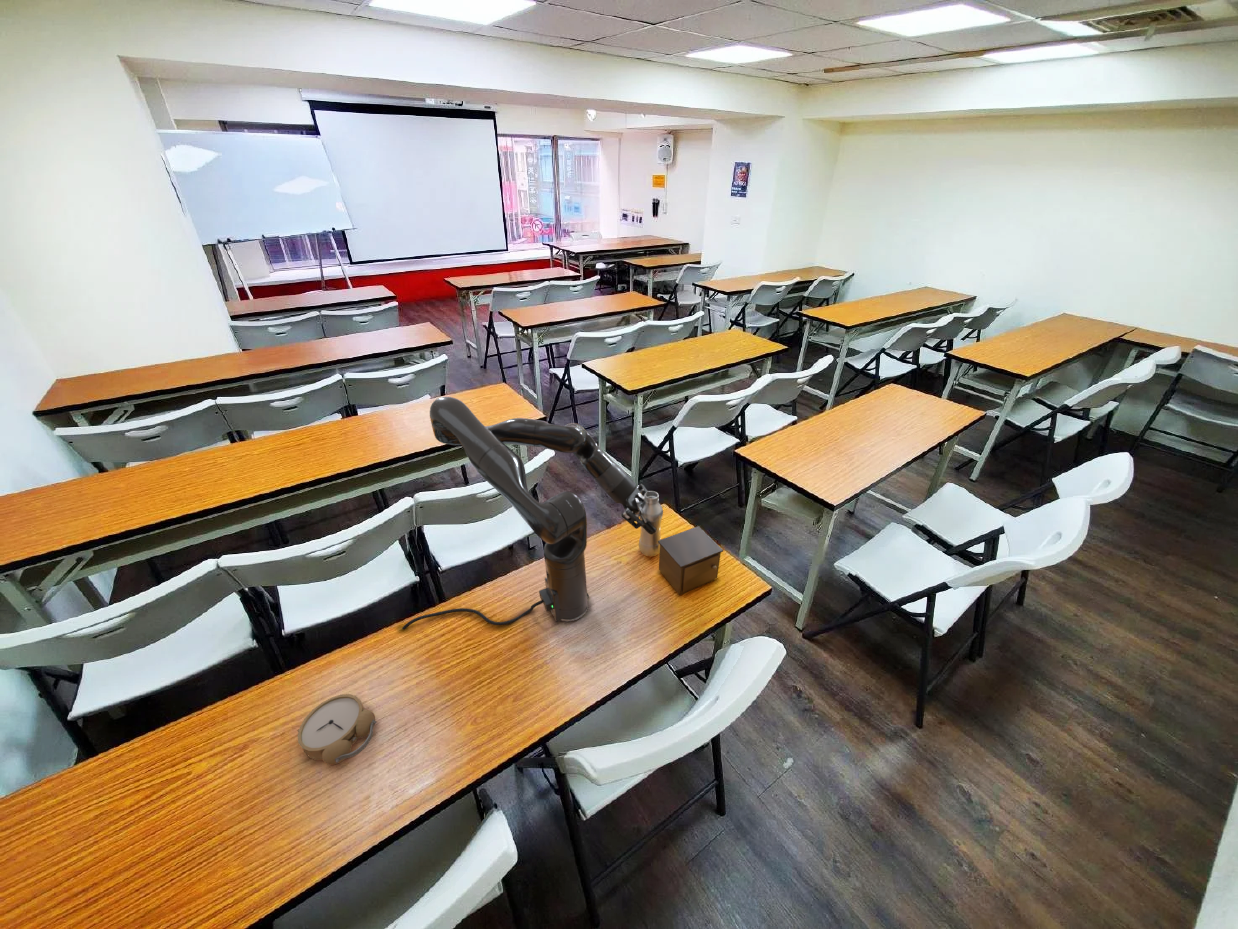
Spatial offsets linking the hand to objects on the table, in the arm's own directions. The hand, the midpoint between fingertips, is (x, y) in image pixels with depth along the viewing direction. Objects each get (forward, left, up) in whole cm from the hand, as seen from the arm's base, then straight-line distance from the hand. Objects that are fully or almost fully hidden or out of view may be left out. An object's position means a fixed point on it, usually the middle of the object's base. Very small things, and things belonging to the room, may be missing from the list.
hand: (656, 524), depth 128 cm
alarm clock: (-80, -16, -11) cm, 82 cm away
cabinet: (+3, -12, -10) cm, 16 cm away
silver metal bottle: (-1, +1, -11) cm, 11 cm away
